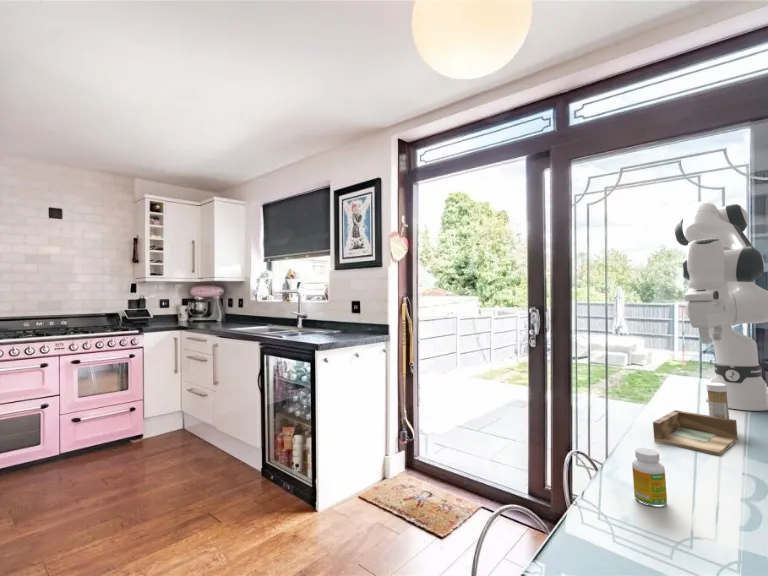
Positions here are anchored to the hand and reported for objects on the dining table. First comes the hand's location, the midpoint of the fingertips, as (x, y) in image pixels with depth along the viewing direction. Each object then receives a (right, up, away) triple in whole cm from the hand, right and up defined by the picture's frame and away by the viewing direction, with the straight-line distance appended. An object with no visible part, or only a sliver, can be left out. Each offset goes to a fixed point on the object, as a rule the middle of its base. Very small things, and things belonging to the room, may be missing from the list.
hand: (712, 341), depth 115 cm
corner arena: (-10, -26, -7) cm, 29 cm away
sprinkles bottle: (+1, -26, -1) cm, 26 cm away
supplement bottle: (-42, -27, -36) cm, 62 cm away
